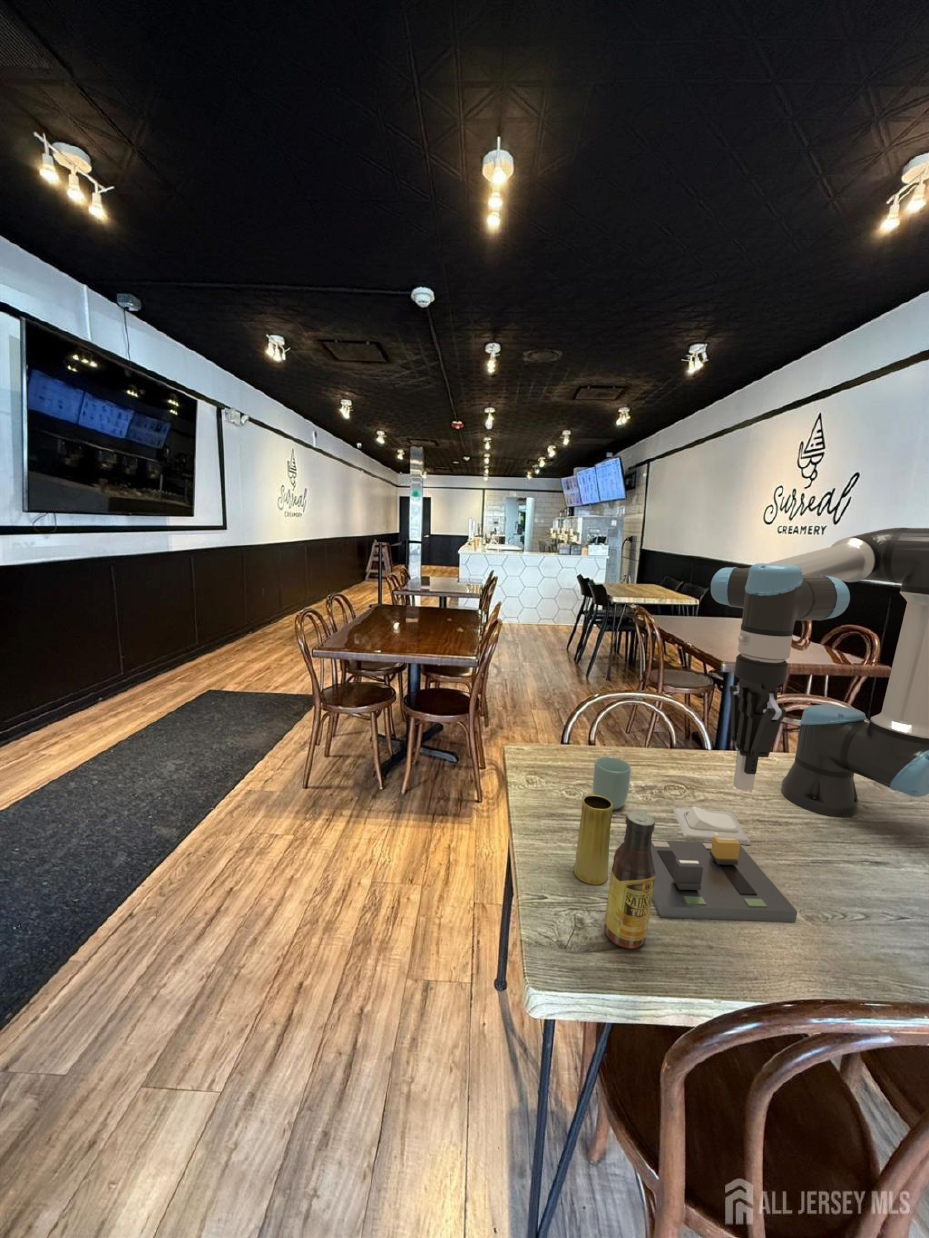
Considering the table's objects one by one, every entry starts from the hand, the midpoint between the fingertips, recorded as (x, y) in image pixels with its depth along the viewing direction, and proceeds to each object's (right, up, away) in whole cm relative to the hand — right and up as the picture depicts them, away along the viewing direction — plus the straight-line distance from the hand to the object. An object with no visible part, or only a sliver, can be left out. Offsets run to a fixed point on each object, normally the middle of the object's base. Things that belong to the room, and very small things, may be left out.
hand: (742, 787), depth 89 cm
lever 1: (-11, -16, -2) cm, 19 cm away
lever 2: (-1, -15, +5) cm, 16 cm away
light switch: (+4, -16, +20) cm, 26 cm away
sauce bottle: (-24, -20, -10) cm, 33 cm away
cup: (-16, -13, +27) cm, 34 cm away
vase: (-26, -17, +3) cm, 31 cm away
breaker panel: (-6, -18, +2) cm, 19 cm away
